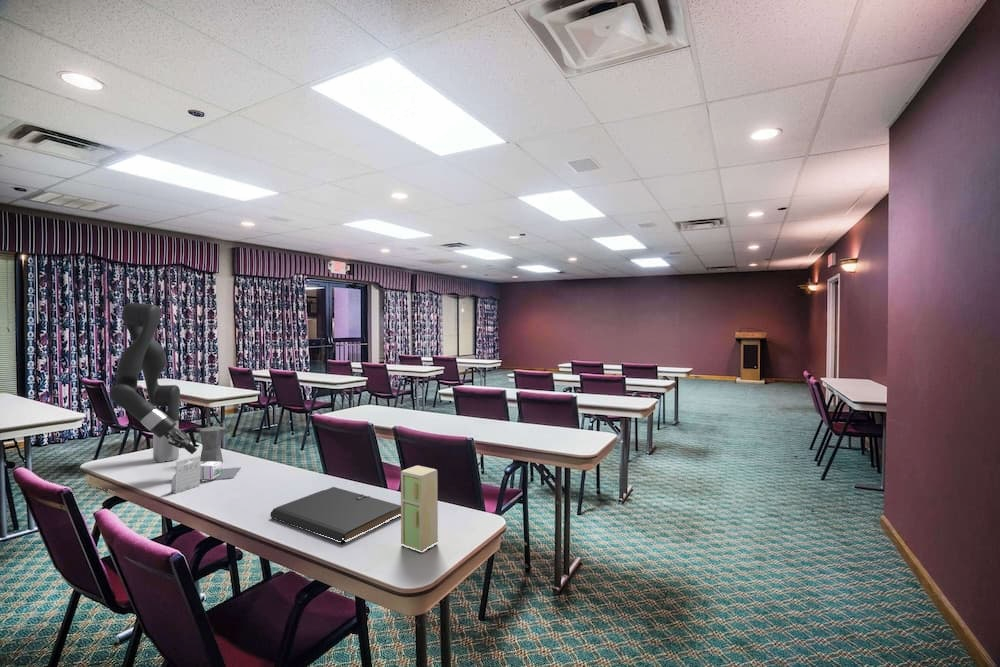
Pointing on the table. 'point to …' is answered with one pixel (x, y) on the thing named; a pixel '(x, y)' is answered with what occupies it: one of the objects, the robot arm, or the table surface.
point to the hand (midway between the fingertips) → (194, 451)
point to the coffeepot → (209, 442)
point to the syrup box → (209, 469)
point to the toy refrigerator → (419, 507)
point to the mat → (226, 473)
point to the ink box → (186, 475)
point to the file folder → (336, 513)
